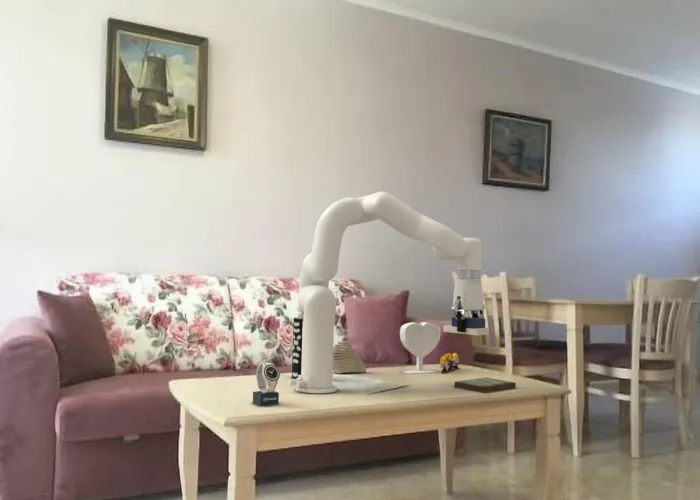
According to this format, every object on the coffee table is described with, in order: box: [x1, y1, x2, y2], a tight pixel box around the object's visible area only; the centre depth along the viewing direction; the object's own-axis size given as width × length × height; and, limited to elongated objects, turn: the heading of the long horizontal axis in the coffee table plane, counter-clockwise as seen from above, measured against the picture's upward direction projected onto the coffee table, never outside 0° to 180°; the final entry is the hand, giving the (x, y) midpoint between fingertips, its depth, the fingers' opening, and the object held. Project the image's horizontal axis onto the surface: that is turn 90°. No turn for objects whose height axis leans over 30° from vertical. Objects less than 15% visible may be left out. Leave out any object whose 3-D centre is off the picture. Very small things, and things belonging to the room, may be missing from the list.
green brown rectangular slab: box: [454, 377, 517, 394], centre depth 217 cm, size 16×12×2 cm
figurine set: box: [439, 352, 461, 374], centre depth 253 cm, size 3×16×7 cm, turn 151°
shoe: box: [443, 316, 490, 336], centre depth 219 cm, size 14×6×5 cm, turn 40°
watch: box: [252, 361, 282, 407], centre depth 183 cm, size 6×8×11 cm
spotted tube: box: [291, 317, 304, 379], centre depth 227 cm, size 8×8×20 cm
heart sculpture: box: [399, 321, 442, 375], centre depth 248 cm, size 16×5×18 cm, turn 117°
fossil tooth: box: [333, 340, 367, 375], centre depth 241 cm, size 12×6×15 cm
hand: (468, 330), depth 219 cm, fingers closed on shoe, 6 cm apart
